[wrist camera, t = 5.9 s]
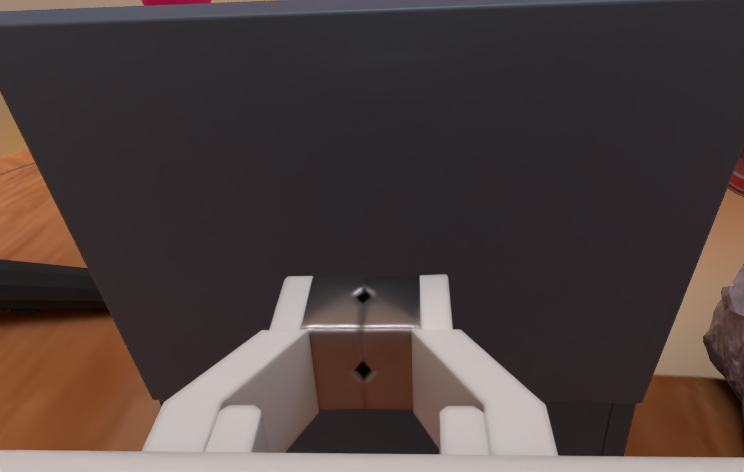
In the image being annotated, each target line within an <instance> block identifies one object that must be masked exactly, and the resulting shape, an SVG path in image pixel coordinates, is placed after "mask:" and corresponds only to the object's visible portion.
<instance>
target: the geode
mask: <svg viewBox="0 0 744 472" xmlns="http://www.w3.org/2000/svg"><path fill="white" fill-rule="evenodd" d="M733 284H734V287H732V286H729V287H724V288H722V291H721V295H722V300H720V301H719V303H718V305H717V307H716V309H715V311H714V313H713V319H712V322H711V325H710V328H709V331H708V332H707V333H706V334H705V335H704V336H703V342H704V345H705V347H706V349H707V352H708V355H709V358H710V361H711V362H712V363H713V365H714V366H715V367H716V369H717V370H718V371H719V372H720V373H721V374H722V375H723V376H724V377H725V379H726V380H727V382H728V384H729V385H730V387H731V388H732V390H733V392H734V393H735V394H736V396H737V397H738V398H739V400H740V401H741V402H742V419H743V427H744V264H743V266H742V268H741V269H740V271H739V273H738V274H737V276H736V278H735V279H734V281H733Z"/></svg>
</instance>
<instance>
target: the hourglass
mask: <svg viewBox="0 0 744 472" xmlns="http://www.w3.org/2000/svg"><path fill="white" fill-rule="evenodd" d="M727 188H728V189H730V190H731V191H733V192H734V193H736V194H738V195H740V196H743V197H744V147H743V149H742V152H741V154H740V157H739V159H738V162H737V164H736V167H735V170H734V172H733V175H732V177H731V180H730V182H729V185H728V187H727Z"/></svg>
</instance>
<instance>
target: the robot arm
mask: <svg viewBox="0 0 744 472" xmlns="http://www.w3.org/2000/svg"><path fill="white" fill-rule="evenodd" d="M330 409H389V410H413V413H414V414H415V416H416V417H417V418H418V420H419V421H420V423H421V424H422V426H423V427H424V428H425V430H426V431H427V433H428V434H429V436H430V437H431V438H432V440H433V441H434V443H435V444H436V445H437V447H438V448H439V454H346V453H285V452H286V451H287V450H288V448H289V447H290V446H291V445H292V444H293V443H294V441H295V440H296V439H297V438H298V437H299V435H300V434H301V433H302V432H303V431H304V430H305V428H306V427H307V426H308V425H309V424H310V423H311V421H312V420H313V419H314V418H315V417H316V415H317V414H318V413H319V410H330ZM0 472H744V458H742V457H636V456H558V453H557V449H556V445H555V441H554V437H553V433H552V429H551V425H550V421H549V416H548V412H547V408H546V405H545V404H544V403H543V402H542V401H541V400H540V399H538V398H537V397H536V396H535V395H534V394H533V393H532V392H531V391H529V390H528V389H527V388H526V387H525V386H524V385H523V384H521V383H520V382H519V381H518V380H517V379H516V378H515V377H514V376H512V375H511V374H510V373H509V372H508V371H507V370H506V369H505V368H503V367H502V366H501V365H500V364H499V363H498V362H497V361H496V360H494V359H493V358H492V357H491V356H490V355H489V354H488V353H487V352H485V351H484V350H483V349H482V348H481V347H480V346H479V345H478V344H476V343H475V342H474V341H473V340H472V339H471V338H470V337H469V336H467V335H466V334H465V333H464V332H463V331H462V330H460V329H453V326H452V315H451V304H450V293H449V282H448V276H447V275H446V274H439V275H420V279H419V276H395V277H364V276H314V277H313V276H288V277H287V278H286V279H285V280H284V282H283V286H282V289H281V292H280V296H279V299H278V302H277V306H276V309H275V312H274V315H273V319H272V322H271V325H270V329H269V330H261V331H260V332H258V333H257V334H256V335H254V336H253V337H252V338H250V339H249V340H248V341H246V342H245V343H244V344H242V345H241V346H239V347H238V348H237V349H235V350H234V351H233V352H231V353H230V354H229V355H227V356H226V357H225V358H223V359H222V360H220V361H219V362H218V363H216V364H215V365H214V366H212V367H211V368H210V369H208V370H207V371H206V372H204V373H203V374H201V375H200V376H199V377H197V378H196V379H195V380H193V381H192V382H191V383H189V384H188V385H187V386H185V387H184V388H183V389H181V390H180V391H178V392H177V393H176V394H174V395H173V396H172V397H170V398H169V399H168V400H166V401H165V402H164V403H163V405H162V407H161V410H160V412H159V414H158V416H157V418H156V420H155V423H154V425H153V427H152V429H151V431H150V433H149V436H148V438H147V440H146V442H145V444H144V447H143V449H142V451H67V450H0Z"/></svg>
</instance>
